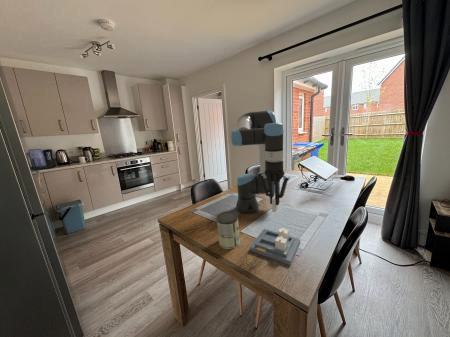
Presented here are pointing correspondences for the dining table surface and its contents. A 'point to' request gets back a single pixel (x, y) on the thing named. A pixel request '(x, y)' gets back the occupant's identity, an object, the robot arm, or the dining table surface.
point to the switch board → (267, 247)
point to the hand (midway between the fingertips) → (274, 210)
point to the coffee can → (228, 230)
